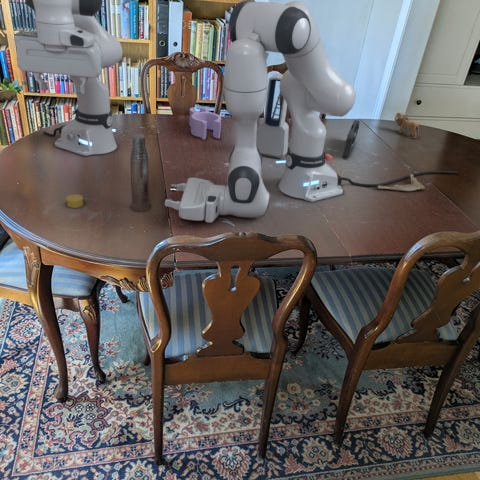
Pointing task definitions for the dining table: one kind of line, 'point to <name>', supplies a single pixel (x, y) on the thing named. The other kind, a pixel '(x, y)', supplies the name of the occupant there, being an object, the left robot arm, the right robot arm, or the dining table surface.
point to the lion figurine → (406, 124)
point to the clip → (204, 123)
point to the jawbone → (405, 186)
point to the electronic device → (273, 126)
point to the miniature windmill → (280, 97)
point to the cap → (74, 201)
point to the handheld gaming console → (351, 139)
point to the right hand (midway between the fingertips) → (168, 194)
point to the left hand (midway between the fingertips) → (62, 91)
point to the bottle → (139, 174)
